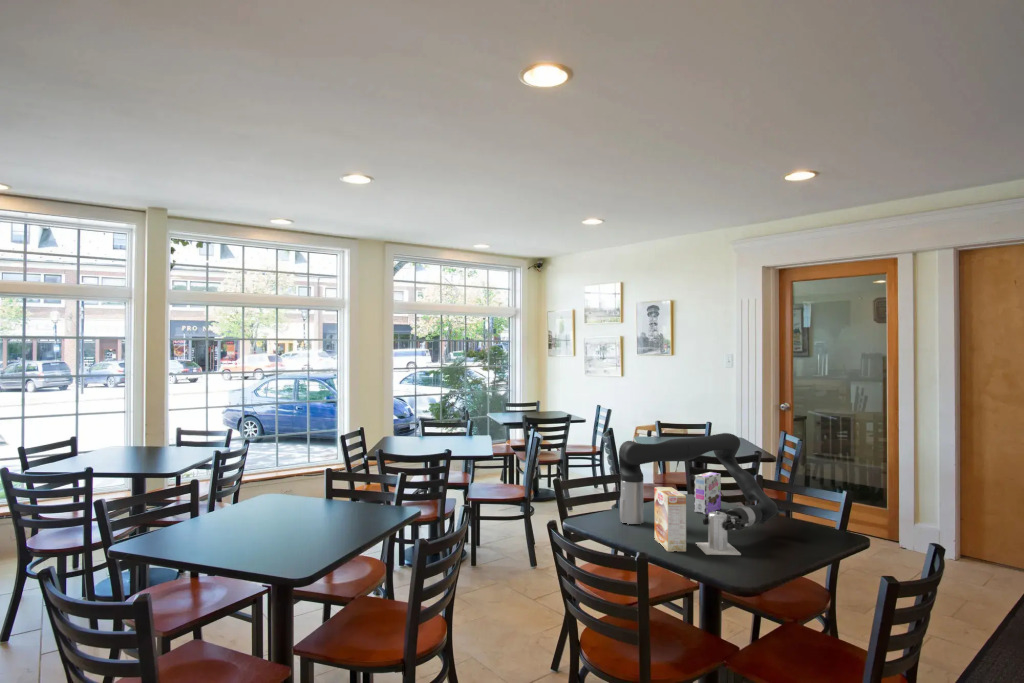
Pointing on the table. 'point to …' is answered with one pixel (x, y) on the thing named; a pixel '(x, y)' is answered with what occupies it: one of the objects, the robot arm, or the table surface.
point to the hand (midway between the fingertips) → (714, 524)
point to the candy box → (707, 492)
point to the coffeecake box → (670, 518)
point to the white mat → (708, 551)
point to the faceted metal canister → (717, 531)
